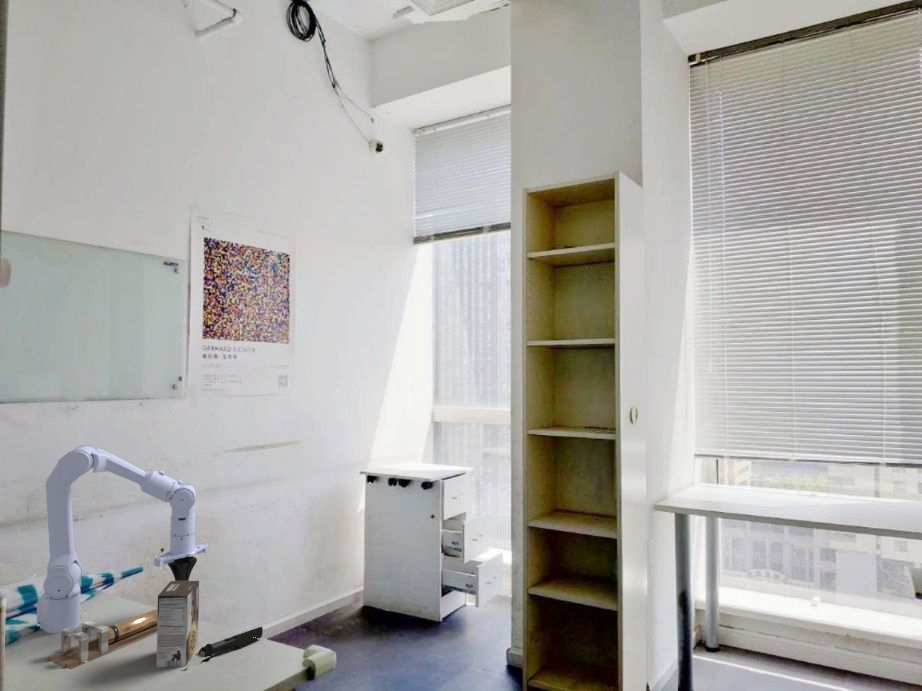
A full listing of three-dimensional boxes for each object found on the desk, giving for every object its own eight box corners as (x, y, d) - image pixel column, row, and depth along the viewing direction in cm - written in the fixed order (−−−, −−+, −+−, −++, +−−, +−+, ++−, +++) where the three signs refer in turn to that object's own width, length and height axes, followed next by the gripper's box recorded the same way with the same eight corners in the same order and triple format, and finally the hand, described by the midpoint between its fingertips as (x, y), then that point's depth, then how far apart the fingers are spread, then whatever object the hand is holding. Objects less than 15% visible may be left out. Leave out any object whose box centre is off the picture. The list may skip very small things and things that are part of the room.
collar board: (45, 664, 139) (46, 633, 139) (155, 620, 162) (155, 594, 162) (70, 674, 134) (71, 642, 134) (179, 627, 158) (180, 601, 158)
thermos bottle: (106, 648, 144) (106, 631, 144) (95, 644, 146) (96, 628, 146) (168, 623, 158) (169, 607, 158) (158, 620, 160) (159, 605, 160)
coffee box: (168, 653, 144) (170, 580, 145) (198, 651, 145) (200, 579, 146) (154, 672, 135) (156, 595, 136) (186, 671, 136) (188, 594, 137)
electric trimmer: (266, 641, 152) (266, 628, 152) (204, 664, 140) (204, 649, 140) (257, 637, 154) (257, 623, 154) (195, 659, 142) (195, 644, 142)
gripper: (168, 542, 156) (167, 599, 155) (216, 529, 168) (215, 581, 168) (149, 538, 159) (148, 594, 159) (198, 525, 172) (197, 577, 171)
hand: (181, 587), depth 164 cm, fingers closed
